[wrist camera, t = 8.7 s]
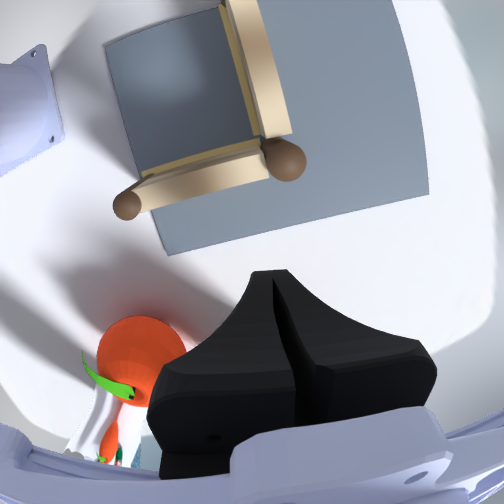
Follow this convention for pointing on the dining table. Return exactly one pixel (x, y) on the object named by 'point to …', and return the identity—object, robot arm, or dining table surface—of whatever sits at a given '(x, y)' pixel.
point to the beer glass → (109, 432)
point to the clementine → (134, 357)
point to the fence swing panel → (259, 67)
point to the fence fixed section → (212, 176)
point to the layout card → (298, 107)
